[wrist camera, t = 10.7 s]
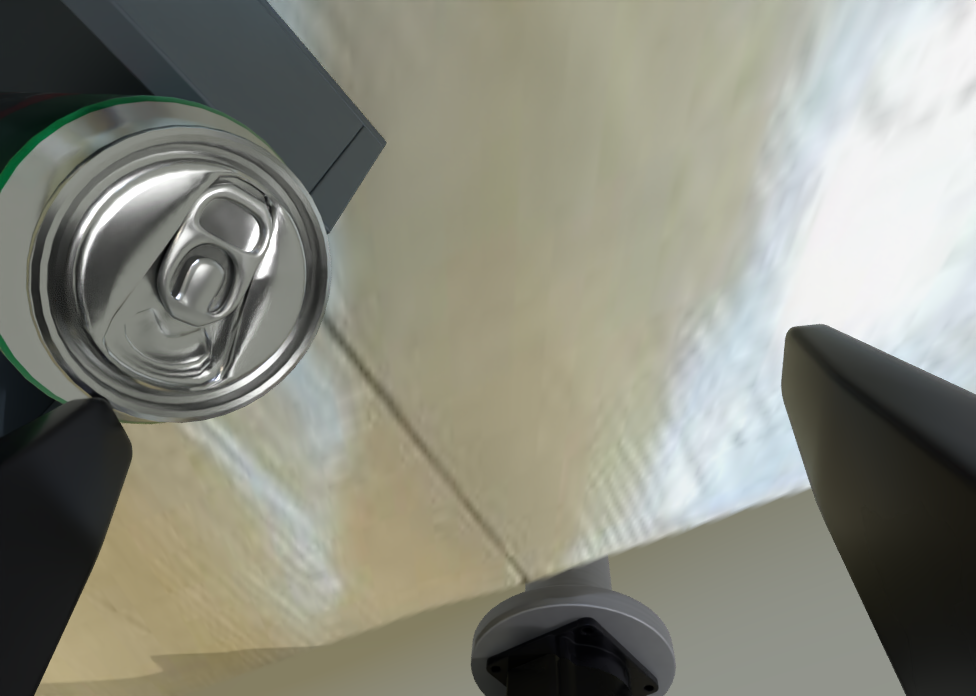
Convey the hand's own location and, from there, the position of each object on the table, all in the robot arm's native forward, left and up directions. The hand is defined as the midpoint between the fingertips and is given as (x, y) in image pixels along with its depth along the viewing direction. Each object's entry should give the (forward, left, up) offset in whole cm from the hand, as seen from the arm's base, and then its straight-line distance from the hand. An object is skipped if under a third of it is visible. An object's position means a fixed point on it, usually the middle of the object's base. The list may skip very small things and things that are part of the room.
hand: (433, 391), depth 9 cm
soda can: (+7, +10, -9) cm, 16 cm away
